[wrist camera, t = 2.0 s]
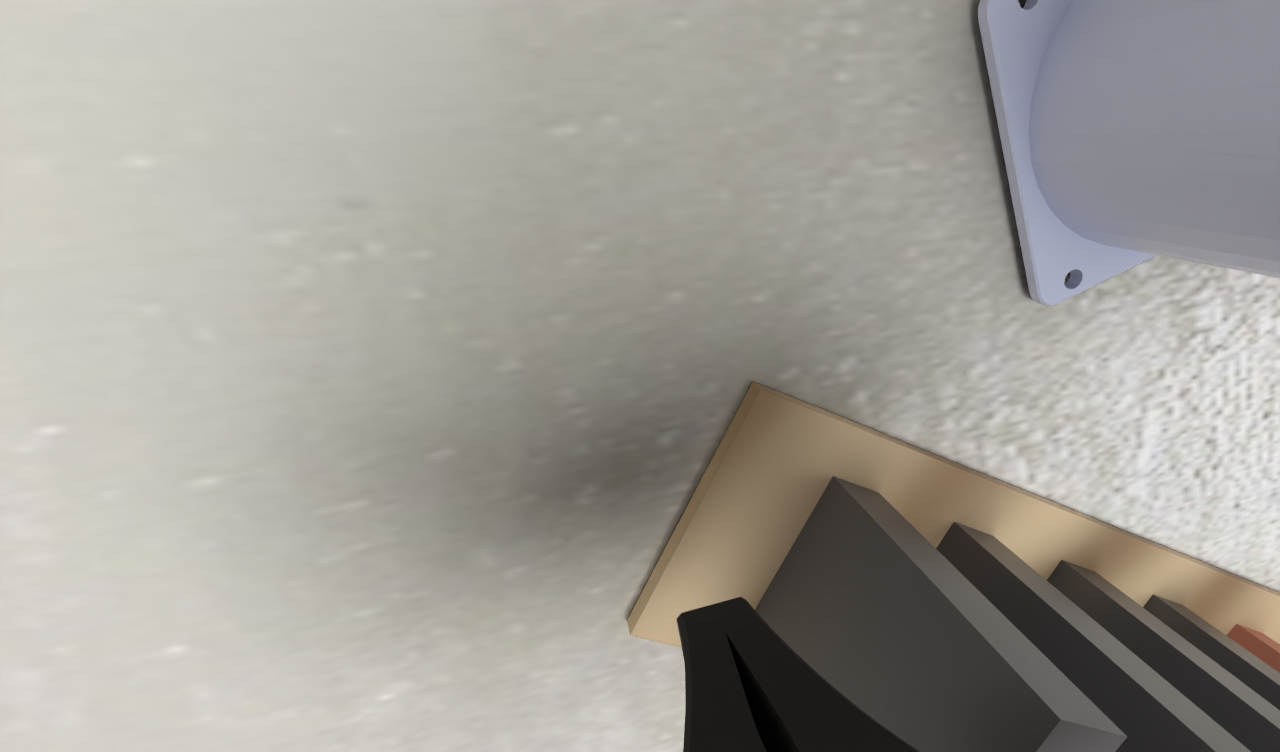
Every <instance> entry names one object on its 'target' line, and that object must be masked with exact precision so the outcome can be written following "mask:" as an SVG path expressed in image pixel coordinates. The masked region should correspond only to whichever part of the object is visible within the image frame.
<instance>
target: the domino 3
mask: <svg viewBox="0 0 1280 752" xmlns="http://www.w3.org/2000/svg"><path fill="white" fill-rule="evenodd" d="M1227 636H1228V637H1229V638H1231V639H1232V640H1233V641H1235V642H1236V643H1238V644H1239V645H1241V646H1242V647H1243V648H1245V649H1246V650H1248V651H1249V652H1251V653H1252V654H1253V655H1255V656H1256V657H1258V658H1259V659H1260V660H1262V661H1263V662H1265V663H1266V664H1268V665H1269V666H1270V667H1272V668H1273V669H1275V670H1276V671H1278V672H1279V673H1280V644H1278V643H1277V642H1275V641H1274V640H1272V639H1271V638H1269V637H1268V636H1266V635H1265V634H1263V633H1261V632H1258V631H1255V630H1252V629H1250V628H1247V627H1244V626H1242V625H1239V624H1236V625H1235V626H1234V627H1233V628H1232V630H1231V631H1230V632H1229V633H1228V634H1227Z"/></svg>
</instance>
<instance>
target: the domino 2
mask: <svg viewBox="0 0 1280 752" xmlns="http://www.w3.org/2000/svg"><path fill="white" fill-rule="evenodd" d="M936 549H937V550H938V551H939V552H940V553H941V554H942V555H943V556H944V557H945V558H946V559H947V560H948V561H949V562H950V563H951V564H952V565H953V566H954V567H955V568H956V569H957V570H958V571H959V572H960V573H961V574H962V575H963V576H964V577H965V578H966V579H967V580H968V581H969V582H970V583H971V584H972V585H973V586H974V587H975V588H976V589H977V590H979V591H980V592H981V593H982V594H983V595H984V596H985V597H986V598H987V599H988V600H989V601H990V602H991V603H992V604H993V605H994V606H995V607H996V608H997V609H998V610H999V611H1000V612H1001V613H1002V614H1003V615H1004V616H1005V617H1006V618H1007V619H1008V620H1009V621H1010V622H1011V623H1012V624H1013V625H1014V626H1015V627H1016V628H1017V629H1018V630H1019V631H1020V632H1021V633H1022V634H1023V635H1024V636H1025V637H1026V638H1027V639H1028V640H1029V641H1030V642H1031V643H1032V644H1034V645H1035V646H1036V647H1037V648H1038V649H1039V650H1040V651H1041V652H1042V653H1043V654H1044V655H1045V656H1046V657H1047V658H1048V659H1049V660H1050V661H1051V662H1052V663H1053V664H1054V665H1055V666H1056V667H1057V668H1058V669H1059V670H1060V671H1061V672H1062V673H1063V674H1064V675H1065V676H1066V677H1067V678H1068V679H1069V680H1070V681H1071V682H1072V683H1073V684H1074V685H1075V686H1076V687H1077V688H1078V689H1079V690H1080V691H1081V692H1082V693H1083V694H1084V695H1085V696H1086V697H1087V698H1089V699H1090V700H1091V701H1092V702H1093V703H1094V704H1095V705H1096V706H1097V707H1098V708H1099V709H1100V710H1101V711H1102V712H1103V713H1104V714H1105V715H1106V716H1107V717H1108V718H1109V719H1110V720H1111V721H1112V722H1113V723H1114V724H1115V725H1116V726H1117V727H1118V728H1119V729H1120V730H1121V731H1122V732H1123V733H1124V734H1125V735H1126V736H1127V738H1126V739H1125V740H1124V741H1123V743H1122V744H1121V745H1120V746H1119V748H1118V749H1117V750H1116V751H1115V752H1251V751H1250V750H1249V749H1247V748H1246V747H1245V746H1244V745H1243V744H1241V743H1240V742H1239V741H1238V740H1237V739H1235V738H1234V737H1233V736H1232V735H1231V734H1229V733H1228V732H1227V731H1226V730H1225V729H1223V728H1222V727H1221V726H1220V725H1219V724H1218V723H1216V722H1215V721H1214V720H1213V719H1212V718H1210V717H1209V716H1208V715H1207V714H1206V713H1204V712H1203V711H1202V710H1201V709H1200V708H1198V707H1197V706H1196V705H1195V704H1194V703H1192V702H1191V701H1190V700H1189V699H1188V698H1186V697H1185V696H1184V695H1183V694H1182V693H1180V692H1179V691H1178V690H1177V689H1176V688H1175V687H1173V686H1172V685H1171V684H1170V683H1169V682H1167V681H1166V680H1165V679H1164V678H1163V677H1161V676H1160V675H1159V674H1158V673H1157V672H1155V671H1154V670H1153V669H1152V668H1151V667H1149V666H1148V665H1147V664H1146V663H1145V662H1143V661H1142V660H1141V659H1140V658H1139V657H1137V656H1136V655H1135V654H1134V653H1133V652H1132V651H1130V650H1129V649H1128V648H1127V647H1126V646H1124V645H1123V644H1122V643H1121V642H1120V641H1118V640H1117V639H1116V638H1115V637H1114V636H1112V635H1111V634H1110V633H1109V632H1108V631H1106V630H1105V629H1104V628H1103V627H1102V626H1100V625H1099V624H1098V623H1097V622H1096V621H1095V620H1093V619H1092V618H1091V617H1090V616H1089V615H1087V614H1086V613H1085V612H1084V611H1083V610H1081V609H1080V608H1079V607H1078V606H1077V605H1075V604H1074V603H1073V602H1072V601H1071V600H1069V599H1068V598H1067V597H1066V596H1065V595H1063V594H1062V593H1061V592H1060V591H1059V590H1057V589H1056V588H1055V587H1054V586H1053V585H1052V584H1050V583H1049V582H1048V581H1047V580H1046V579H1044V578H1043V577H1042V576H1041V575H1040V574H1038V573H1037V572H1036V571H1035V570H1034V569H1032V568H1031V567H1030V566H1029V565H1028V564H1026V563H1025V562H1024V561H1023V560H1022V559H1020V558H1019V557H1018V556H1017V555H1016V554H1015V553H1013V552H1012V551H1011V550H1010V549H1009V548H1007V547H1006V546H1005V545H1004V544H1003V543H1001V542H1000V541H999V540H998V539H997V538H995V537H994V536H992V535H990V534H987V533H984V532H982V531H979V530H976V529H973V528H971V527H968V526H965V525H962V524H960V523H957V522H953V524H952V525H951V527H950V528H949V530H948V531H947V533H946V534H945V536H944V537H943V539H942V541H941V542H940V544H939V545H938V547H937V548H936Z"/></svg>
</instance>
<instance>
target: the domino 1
mask: <svg viewBox="0 0 1280 752" xmlns="http://www.w3.org/2000/svg"><path fill="white" fill-rule="evenodd" d="M755 611H756V612H757V613H758V614H759V615H760V617H761V618H762V619H763V620H764V621H765V622H766V623H767V624H768V625H769V626H770V627H771V628H772V630H773V631H774V632H775V633H776V634H777V635H778V636H779V637H780V638H781V639H782V640H783V641H784V642H785V643H786V644H787V645H788V646H789V647H790V648H791V649H792V650H793V651H794V652H795V653H796V654H798V655H799V656H800V657H801V658H802V659H803V660H804V661H805V662H806V663H807V664H808V665H809V666H811V667H812V668H813V669H814V670H815V671H816V672H817V673H818V674H819V675H820V676H821V677H823V678H824V679H825V680H826V681H827V682H828V683H830V684H831V685H832V686H833V687H834V688H835V689H837V690H838V691H839V692H840V693H841V694H843V695H844V696H845V697H846V698H847V699H849V700H850V701H851V702H852V703H854V704H855V705H856V706H857V707H859V708H860V709H861V710H862V711H864V712H865V713H866V714H868V715H869V716H870V717H871V718H873V719H874V720H875V721H877V722H878V723H879V724H881V725H882V726H884V727H885V728H886V729H888V730H889V731H891V732H892V733H893V734H895V735H896V736H898V737H899V738H900V739H902V740H903V741H905V742H906V743H908V744H909V745H911V746H912V747H914V748H915V749H917V750H918V751H920V752H1115V751H1116V750H1117V749H1118V748H1119V746H1120V745H1121V744H1122V743H1123V741H1124V740H1125V739H1126V738H1127V736H1126V735H1125V734H1124V733H1123V732H1122V731H1121V730H1120V729H1119V728H1118V727H1117V726H1116V725H1115V724H1114V723H1113V722H1112V721H1111V720H1110V719H1109V718H1108V717H1107V716H1106V715H1105V714H1104V713H1103V712H1102V711H1101V710H1100V709H1099V708H1098V707H1097V706H1096V705H1095V704H1094V703H1093V702H1092V701H1091V700H1090V699H1089V698H1087V697H1086V696H1085V695H1084V694H1083V693H1082V692H1081V691H1080V690H1079V689H1078V688H1077V687H1076V686H1075V685H1074V684H1073V683H1072V682H1071V681H1070V680H1069V679H1068V678H1067V677H1066V676H1065V675H1064V674H1063V673H1062V672H1061V671H1060V670H1059V669H1058V668H1057V667H1056V666H1055V665H1054V664H1053V663H1052V662H1051V661H1050V660H1049V659H1048V658H1047V657H1046V656H1045V655H1044V654H1043V653H1042V652H1041V651H1040V650H1039V649H1038V648H1037V647H1036V646H1035V645H1034V644H1032V643H1031V642H1030V641H1029V640H1028V639H1027V638H1026V637H1025V636H1024V635H1023V634H1022V633H1021V632H1020V631H1019V630H1018V629H1017V628H1016V627H1015V626H1014V625H1013V624H1012V623H1011V622H1010V621H1009V620H1008V619H1007V618H1006V617H1005V616H1004V615H1003V614H1002V613H1001V612H1000V611H999V610H998V609H997V608H996V607H995V606H994V605H993V604H992V603H991V602H990V601H989V600H988V599H987V598H986V597H985V596H984V595H983V594H982V593H981V592H980V591H979V590H977V589H976V588H975V587H974V586H973V585H972V584H971V583H970V582H969V581H968V580H967V579H966V578H965V577H964V576H963V575H962V574H961V573H960V572H959V571H958V570H957V569H956V568H955V567H954V566H953V565H952V564H951V563H950V562H949V561H948V560H947V559H946V558H945V557H944V556H943V555H942V554H941V553H940V552H939V551H938V550H937V549H936V548H935V547H934V546H933V545H932V544H931V543H930V542H929V541H928V540H927V539H926V538H925V537H924V536H922V535H921V534H920V533H919V532H918V531H917V530H916V529H915V528H914V527H913V526H912V525H911V524H910V523H909V522H908V521H907V520H906V519H905V518H904V517H903V516H902V515H901V514H900V513H899V512H898V511H897V510H896V509H895V508H894V507H893V506H892V505H891V504H890V503H889V502H888V501H887V500H886V499H885V498H884V497H883V496H882V495H881V494H880V493H879V492H876V491H873V490H870V489H868V488H865V487H862V486H859V485H857V484H854V483H851V482H848V481H846V480H843V479H840V478H838V477H835V476H833V477H832V479H831V480H830V482H829V484H828V486H827V487H826V489H825V491H824V492H823V494H822V496H821V498H820V499H819V501H818V503H817V504H816V506H815V508H814V510H813V511H812V513H811V515H810V516H809V518H808V520H807V521H806V523H805V525H804V527H803V528H802V530H801V532H800V533H799V535H798V537H797V539H796V540H795V542H794V544H793V545H792V547H791V549H790V551H789V552H788V554H787V556H786V557H785V559H784V561H783V563H782V564H781V566H780V568H779V569H778V571H777V573H776V574H775V576H774V578H773V580H772V581H771V583H770V585H769V586H768V588H767V590H766V592H765V593H764V595H763V597H762V598H761V600H760V602H759V604H758V605H757V607H756V609H755Z"/></svg>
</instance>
